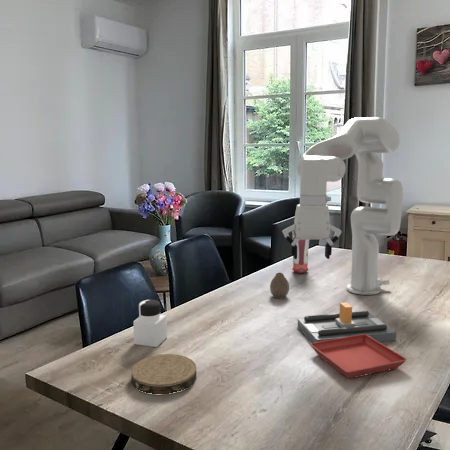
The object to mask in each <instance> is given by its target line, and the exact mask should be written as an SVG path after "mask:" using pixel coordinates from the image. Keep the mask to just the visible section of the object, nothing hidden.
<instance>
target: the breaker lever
mask: <svg viewBox="0 0 450 450" xmlns="http://www.w3.org/2000/svg"><path fill="white" fill-rule="evenodd" d="M352 312H353V306H352V305H350V304H349V303H348V302H339V313H340V315H339V318H336V321H335V322H336V323H337V324H338V325H339V326H340V327H341V328H349V327H355V323H354V322H353V321H352Z"/></svg>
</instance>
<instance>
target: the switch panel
mask: <svg viewBox="0 0 450 450" xmlns="http://www.w3.org/2000/svg"><path fill="white" fill-rule="evenodd" d="M339 315H340V312H339V313H329V314H328V313H327V314H314V315H306V316H304V317H302V318H297V327H298V329H299V330H300V331H301V332H302V333H303V334H304V335H305V337H306V338H307V339H308V340H309V341H310V342H311V343H315V342H321V341H327V340H332V339H338V338H344V337H349V336H355V335H361V334H366V335H368V336H370V337H371V338H373V339H375V340H376V341H378V342H380V343H383V342H382V341H386V342H392V341H391V340H396V341H397V332H396V331H395V330H393V328H391V327H390V326H388V325H387V324H386V323H385V322H383V321H381V320H380V318H377V316H375V315H374V314H372V313H371V312H369V311H368V310H363V311H352V321H353V322H354V323H355V327H349V328H341V327H340V326H339V325H338V324H337V323H336V322H335V321H336V318H339Z"/></svg>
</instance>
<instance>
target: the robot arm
mask: <svg viewBox="0 0 450 450" xmlns="http://www.w3.org/2000/svg"><path fill="white" fill-rule="evenodd" d="M400 140H401V139H400V133H399V131H398V129H397V128H396V127H395V126H394V125H393V124H392V123H391V122H390V121H388V120H387V119H386V118H383V117H380V116H371V117H368V116H366V117H361V116H360V117H354V118H351V119H348V120H347V121H346V122H345V124H344V125H342V127H341V128H340V130H338V132H337V133H336V134H335V135H334V136H333V137H330V138H327V139H324V140H323V141H321V142H317V143H316V144H314V145H312V146H311V147H308V148H307V150H306V151H305V152H304V153H303V154H302V155H301V157H300V159H299V160H298V163H297V167H296V171H297V175H298V177H300V183H299V186H300V188H299V204H296V209H295V214H294V223H293V224H292V225H290V226H288V227H286V228H284V229H283V230H282V231H281V232H282V234H283V235H284V238H285V240H286V241H287V242H288V243H289V244H290V245H291V246H290V247H291V248H290V251H291V252H290V255H291V257H292V259H293V258H294V259H297V245H296V244H297V243H298V241H299V240H300V239H301V240H309V241H310V240H315V241H316V240H324V241H325V242H326V243H325V244H324V257H325V258H326V259H327V260H329V259H331V256H332V250H333V249H332V248H333V245H334V244H335V243H336V242H337V240H338V239H339V237H340V236H341V234H342V232H343V231H342V230H341V229H340V228H338V227H336V226H334V225H332V224H331V223H330V222H331V221H330V211H329V206H328V204H327V203H328V202H332V197H331V196H328V195H327V184H328V183H327V182H329V183H330V182H331V183H335V182H336V183H337V182H338V181H340V180H342V179H343V178H344V176H345V174H346V169H347V168H346V163H345V162H344V160H347V159H350V158H352V157H353V156H354V155H355V157H356V160H357V163H358V173H357V183H356V184H357V185H356V186H357V187H356V196H357V199H358V201H359V202H361V203H366V204H374V205H375V204H376V205H385V206H386V208H385V207H384V208H383V207H375V206H374V207H373V206H358V207H355V208H354V209H353V210H352V212H351V214H350V225H351V234H352V240H351V241H352V245H351V268H350V283H349V282H348V284H346V287H345V288H346V290H347V291H348V292H350V293H352V294H356V295H364V296H373V295H377V294H380V293H381V292H382V285H383V286H384V285H385V286H388V285H390V280H389V279H383V278H379V277H378V273H379V248H380V246H379V242H378V239H377V238H376V236H375V235H380V236H381V235H382V236H395V235H397V234H398V232H399V231H400V229H401V224H402V212H403V211H402V210H403V199H404V198H403V197H404V187H403V184H402V182H401V180H399V179H398V178H394V177H393V178H392V177H384V176H383V174H384V162H383V160H382V158H381V156H380V155H379V153H382V154H384V153H385V154H391V153H394V152H395V151H397V150H398V147H399V145H400ZM293 230H294V235H295V236H294V237H292V238H291V236H290V235H289V234H290V233H292V231H293ZM331 231H332V232H334V234H333V235H332V236H331ZM330 236H331V237H330Z"/></svg>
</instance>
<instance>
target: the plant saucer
mask: <svg viewBox="0 0 450 450" xmlns="http://www.w3.org/2000/svg"><path fill="white" fill-rule="evenodd" d="M310 347H311V348H312V350H313V351H314V352H315V353H316V354H317V355H318V356H319V357H320V358H322V359H323V360H324V361H325V360H326V361H325V362H327V363H328V364H329V363H330V364H329V365H330V366H332V367H333V368H334V367H335V368H334V369H336V370H337V371H338V370H339V371H338V372H340V373H341V374H342V375H343V374H344V376H345V377H346V378H347V377H348V378H347V379H352V378H351V377H355V378H357V377H356V376H360V377H362V376H361V375H364V376H366V375H365V374H369V375H371V374H370V373H374V374H376V373H375V372H379V371H383V372H385V371H384V370H388V371H390V370H389V369H393V370H395V369H394V368H396V369H397V368H399V367H400V366H402V365H403V364H405V362H407V358H406V357H404V355H403V356H402V355H401V354H400V353H398V352H396V351H394V350H392V349H391V348H389V347H388V346H386V345H384V344H383V343H382V342H378V341H376V340H375V339H373V338H371V337H370V336H368V335H366V334H361V335H355V336H349V337H344V338H338V339H332V340H327V341H321V342H315V343H312V342H311V343H310ZM379 373H380V372H379Z"/></svg>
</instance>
